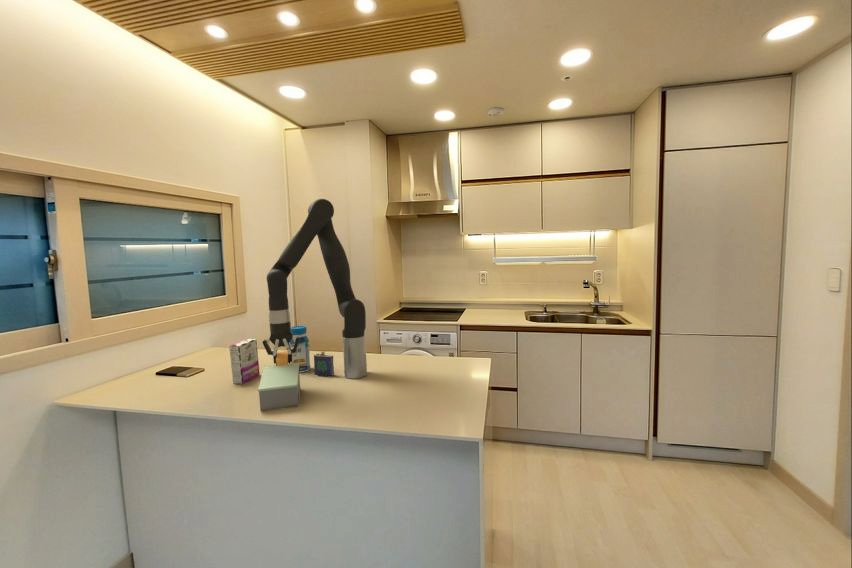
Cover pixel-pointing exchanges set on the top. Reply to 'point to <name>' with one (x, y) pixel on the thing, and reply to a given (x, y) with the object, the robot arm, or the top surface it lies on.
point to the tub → (280, 398)
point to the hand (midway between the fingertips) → (283, 363)
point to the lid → (279, 374)
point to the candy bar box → (244, 361)
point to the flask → (323, 364)
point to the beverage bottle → (301, 348)
